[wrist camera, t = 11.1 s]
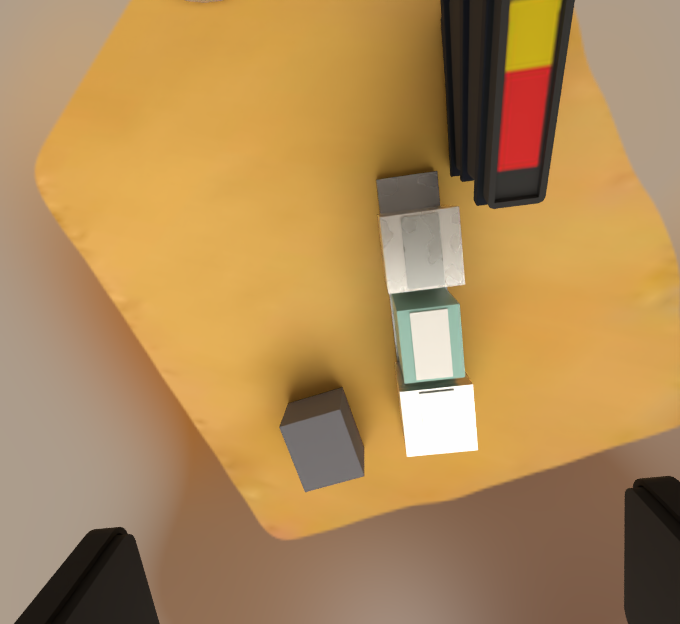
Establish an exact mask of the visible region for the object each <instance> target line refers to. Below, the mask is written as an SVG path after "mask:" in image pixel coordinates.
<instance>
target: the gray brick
mask: <svg viewBox="0 0 680 624" xmlns="http://www.w3.org/2000/svg"><path fill="white" fill-rule="evenodd" d="M279 428H280V430H281V433H282V435H283V438H284V440H285V443H286V445H287V448H288V450H289V453H290V455H291V458H292V460H293V463H294V465H295V468H296V470H297V473H298V475H299V478H300V480H301V483H302V485H303V488H304V491H305V492H308V491H311V490H315V489H319V488H322V487H326V486H330V485H333V484H337V483H341V482H345V481H348V480H352V479H356V478H359V477H363V476H364V446H363V443H362V440H361V437H360V435H359V432H358V429H357V426H356V423H355V421H354V418H353V415H352V412H351V410H350V407H349V404H348V401H347V398H346V396H345V393H344V390H343V387H342V388H338V389H335V390H332V391H328V392H325V393H322V394H318V395H315V396H312V397H308V398H305V399H301V400H298V401H295V402H291V403H288V405H287V408H286V411H285V413H284V416H283V419H282V421H281V424H280V427H279Z"/></svg>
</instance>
